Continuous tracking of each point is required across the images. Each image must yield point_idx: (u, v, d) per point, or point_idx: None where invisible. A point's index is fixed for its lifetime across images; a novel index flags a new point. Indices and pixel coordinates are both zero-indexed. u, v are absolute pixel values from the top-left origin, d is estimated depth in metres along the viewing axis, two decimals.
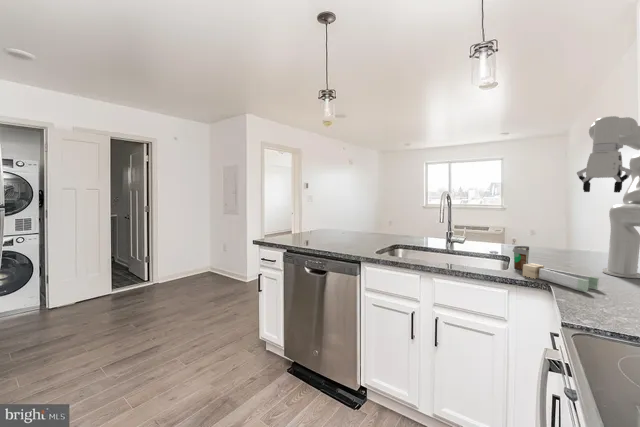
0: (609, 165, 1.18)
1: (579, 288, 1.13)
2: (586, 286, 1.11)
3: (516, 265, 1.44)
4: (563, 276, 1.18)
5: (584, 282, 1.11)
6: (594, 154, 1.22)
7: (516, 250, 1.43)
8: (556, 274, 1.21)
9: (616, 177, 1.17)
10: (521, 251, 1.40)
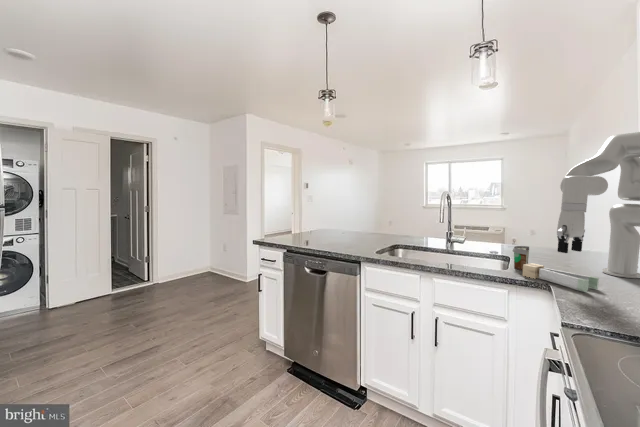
0: (582, 225, 1.17)
1: (579, 288, 1.13)
2: (586, 286, 1.11)
3: (516, 265, 1.44)
4: (563, 276, 1.18)
5: (584, 282, 1.11)
6: (577, 213, 1.15)
7: (516, 250, 1.43)
8: (556, 274, 1.21)
9: (581, 237, 1.19)
10: (521, 251, 1.40)
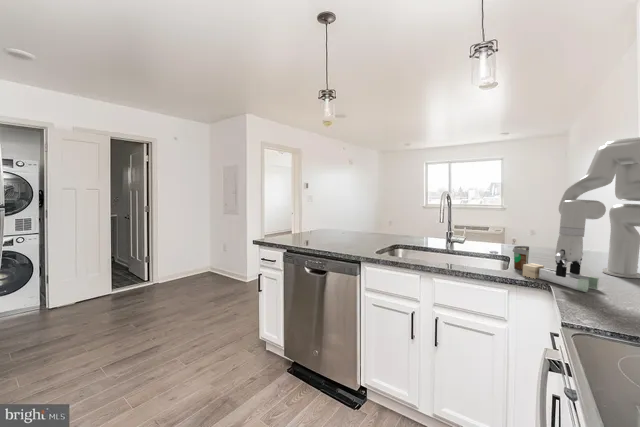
0: (580, 249, 1.18)
1: (579, 288, 1.13)
2: (586, 286, 1.11)
3: (516, 265, 1.44)
4: None
5: (584, 282, 1.11)
6: (575, 238, 1.15)
7: (516, 250, 1.43)
8: None
9: (579, 260, 1.20)
10: (521, 251, 1.40)
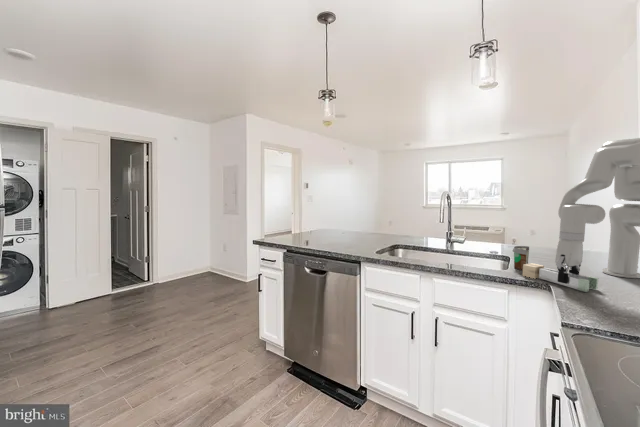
0: (581, 254, 1.18)
1: (580, 288, 1.13)
2: (587, 286, 1.11)
3: (516, 265, 1.44)
4: None
5: (585, 282, 1.11)
6: (575, 243, 1.16)
7: (516, 250, 1.43)
8: (556, 274, 1.21)
9: (578, 266, 1.20)
10: (521, 251, 1.40)
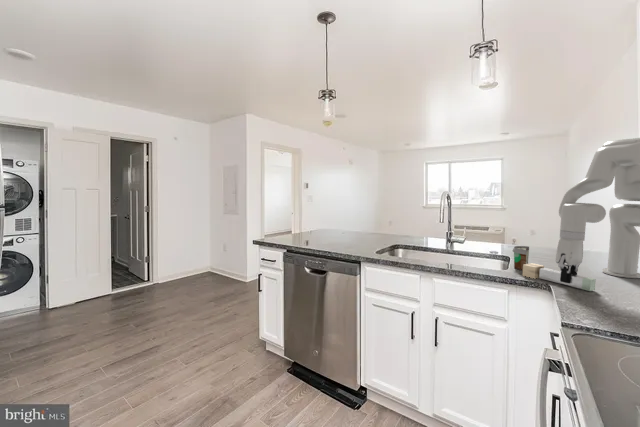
0: (581, 253, 1.18)
1: (584, 287, 1.14)
2: (591, 285, 1.12)
3: (516, 265, 1.44)
4: None
5: (589, 281, 1.12)
6: (575, 242, 1.15)
7: (516, 250, 1.43)
8: (558, 274, 1.21)
9: (577, 267, 1.19)
10: (521, 251, 1.40)
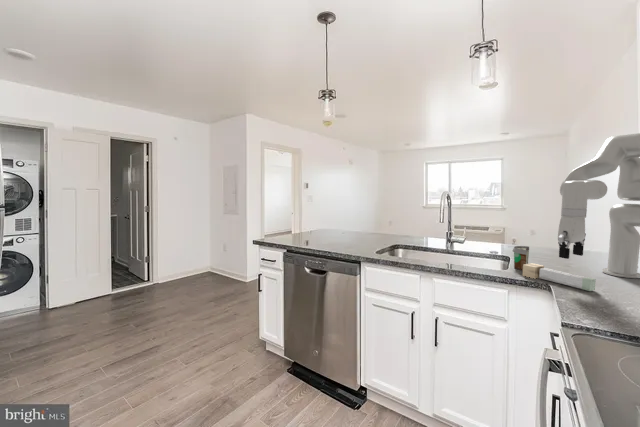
0: (583, 230, 1.18)
1: (584, 287, 1.14)
2: (591, 285, 1.12)
3: (516, 265, 1.44)
4: (566, 276, 1.19)
5: (589, 281, 1.12)
6: (577, 219, 1.15)
7: (516, 250, 1.43)
8: (558, 274, 1.21)
9: (582, 241, 1.20)
10: (521, 251, 1.40)
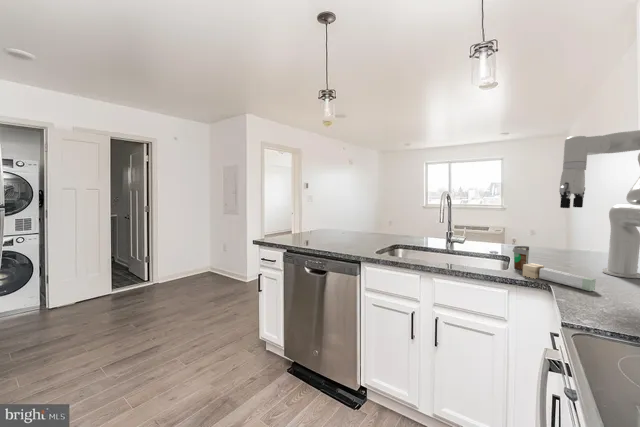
0: (583, 182, 1.27)
1: (584, 287, 1.14)
2: (591, 285, 1.12)
3: (516, 265, 1.44)
4: (566, 276, 1.19)
5: (589, 281, 1.12)
6: (577, 171, 1.24)
7: (516, 250, 1.43)
8: (558, 274, 1.21)
9: (582, 193, 1.29)
10: (521, 251, 1.40)
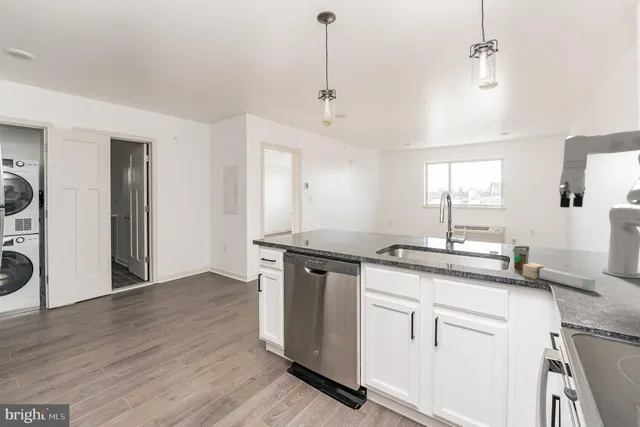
0: (583, 182, 1.27)
1: (584, 287, 1.14)
2: (591, 285, 1.12)
3: (516, 265, 1.44)
4: (566, 276, 1.19)
5: (589, 281, 1.12)
6: (577, 170, 1.24)
7: (516, 250, 1.43)
8: (558, 274, 1.21)
9: (582, 193, 1.29)
10: (521, 251, 1.40)
